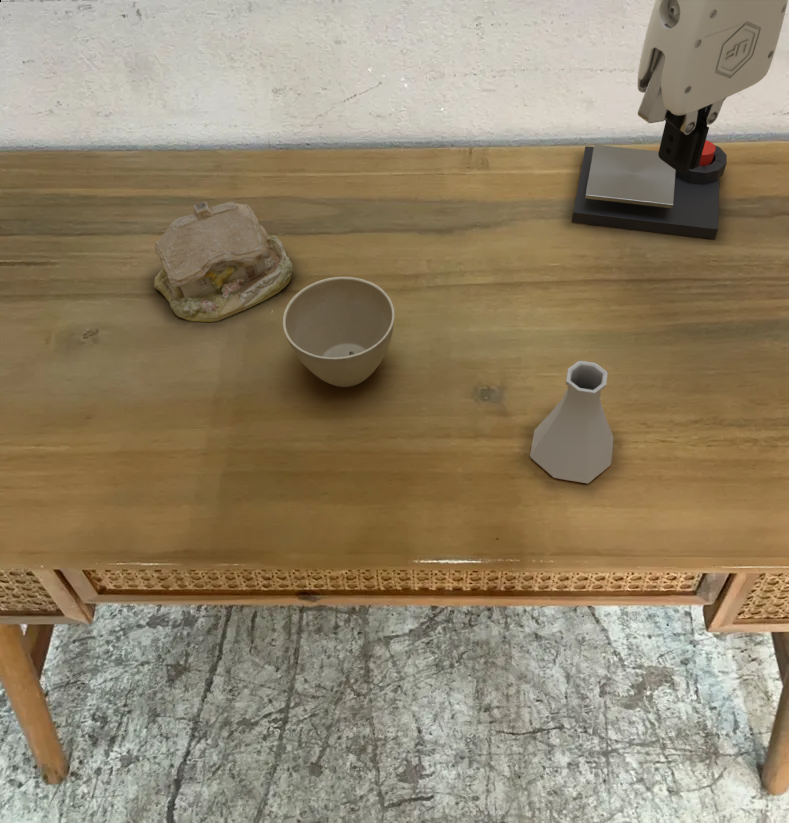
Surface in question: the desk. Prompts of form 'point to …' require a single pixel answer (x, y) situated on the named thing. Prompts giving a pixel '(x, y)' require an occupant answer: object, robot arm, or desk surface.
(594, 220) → the scale
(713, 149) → the tare button
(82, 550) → the desk surface
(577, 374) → the flask
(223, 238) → the ceramic model
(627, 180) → the pan
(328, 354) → the bowl
